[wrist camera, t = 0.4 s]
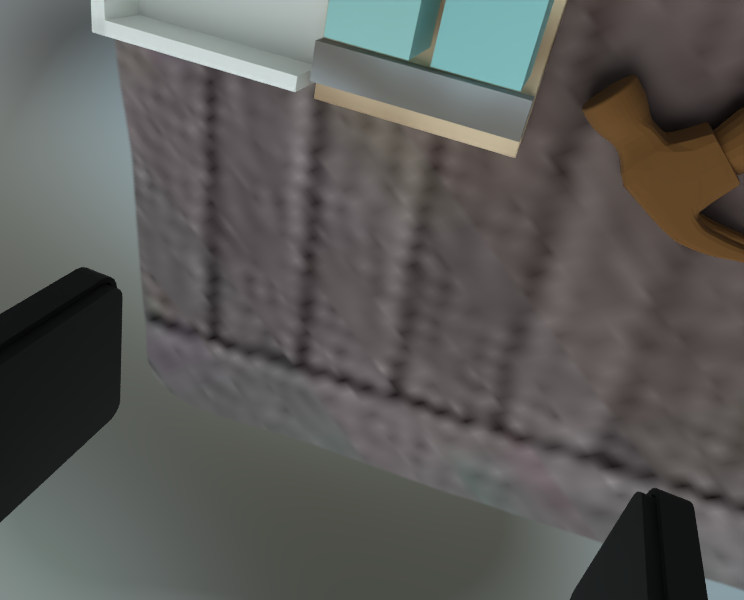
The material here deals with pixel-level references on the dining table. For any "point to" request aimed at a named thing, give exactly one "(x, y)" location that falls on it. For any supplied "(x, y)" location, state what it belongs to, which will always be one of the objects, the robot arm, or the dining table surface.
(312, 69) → the slot board
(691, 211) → the hammer
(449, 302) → the dining table surface
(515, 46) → the teal cube block
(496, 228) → the dining table surface
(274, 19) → the tray
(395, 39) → the light teal cube
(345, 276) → the dining table surface
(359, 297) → the dining table surface
